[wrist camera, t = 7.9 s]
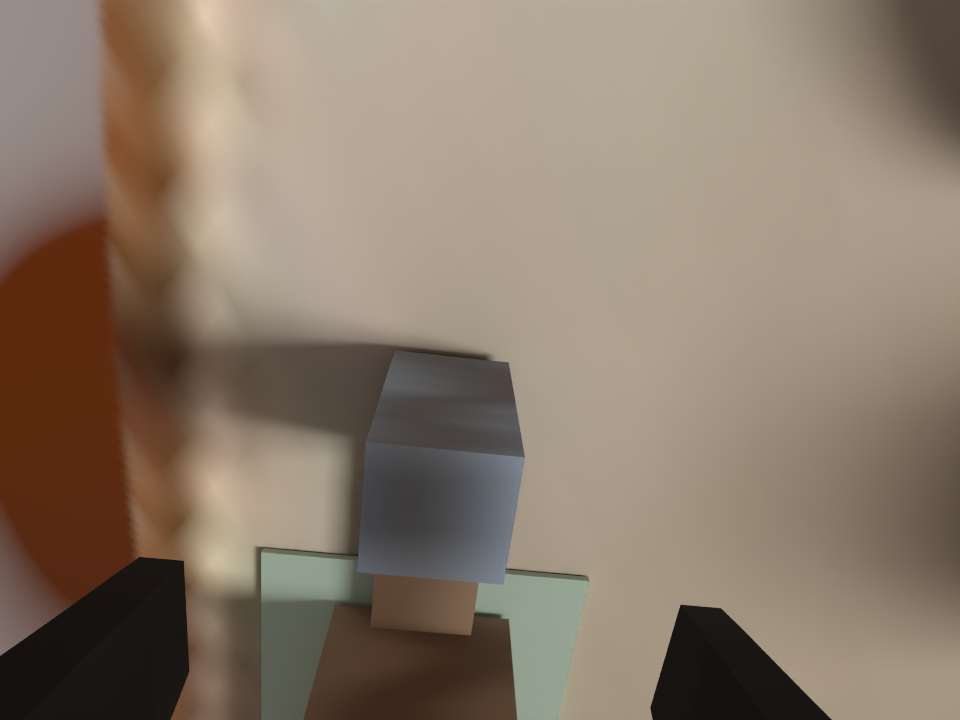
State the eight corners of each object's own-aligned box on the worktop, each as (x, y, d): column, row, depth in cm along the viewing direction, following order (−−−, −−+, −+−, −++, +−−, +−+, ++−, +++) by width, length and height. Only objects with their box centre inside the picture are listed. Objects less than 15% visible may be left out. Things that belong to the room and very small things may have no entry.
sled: (553, 367, 17) (587, 464, 12) (478, 794, 22) (480, 972, 18) (348, 344, 16) (300, 435, 12) (325, 784, 22) (287, 963, 17)
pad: (588, 576, 20) (589, 581, 19) (542, 777, 23) (543, 783, 22) (262, 547, 19) (261, 552, 19) (262, 758, 22) (260, 763, 22)
